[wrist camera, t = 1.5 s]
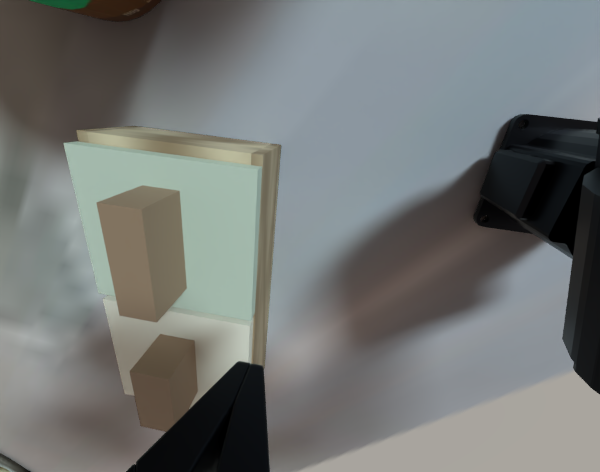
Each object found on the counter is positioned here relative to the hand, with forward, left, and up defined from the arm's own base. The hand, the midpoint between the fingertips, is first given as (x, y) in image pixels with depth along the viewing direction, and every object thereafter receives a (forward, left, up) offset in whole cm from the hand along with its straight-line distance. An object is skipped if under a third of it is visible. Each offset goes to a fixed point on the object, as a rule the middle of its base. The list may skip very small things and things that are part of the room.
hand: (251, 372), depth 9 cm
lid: (+7, +10, -8) cm, 14 cm away
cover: (+7, 0, -8) cm, 11 cm away
